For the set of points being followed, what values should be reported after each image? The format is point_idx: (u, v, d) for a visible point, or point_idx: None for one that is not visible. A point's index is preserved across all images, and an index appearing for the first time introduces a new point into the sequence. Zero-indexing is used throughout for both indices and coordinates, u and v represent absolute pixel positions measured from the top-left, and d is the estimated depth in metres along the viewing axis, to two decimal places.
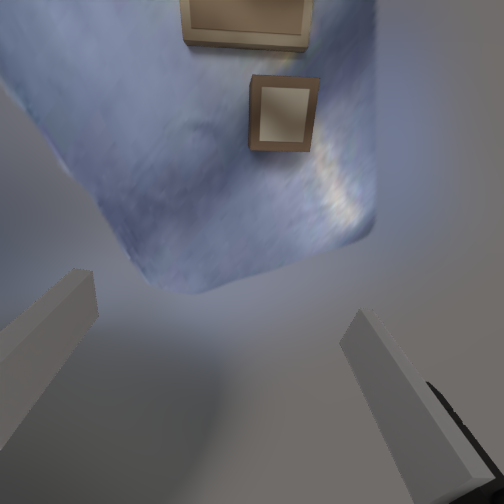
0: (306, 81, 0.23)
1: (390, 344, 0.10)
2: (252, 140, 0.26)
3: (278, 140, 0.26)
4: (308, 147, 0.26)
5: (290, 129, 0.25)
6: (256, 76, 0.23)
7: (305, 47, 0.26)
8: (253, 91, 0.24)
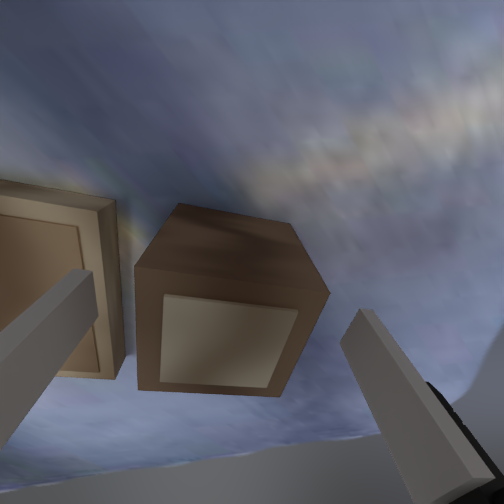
0: (145, 300, 0.08)
1: (390, 344, 0.10)
2: (262, 394, 0.12)
3: (276, 356, 0.10)
4: (316, 296, 0.09)
5: (256, 334, 0.09)
6: (140, 385, 0.10)
7: (99, 214, 0.12)
8: (168, 390, 0.11)
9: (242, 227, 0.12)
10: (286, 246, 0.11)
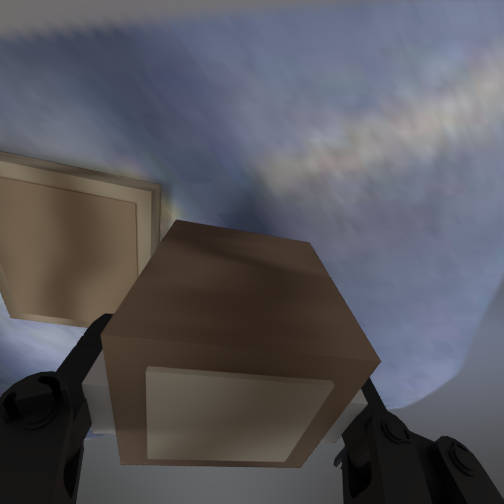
0: (121, 373, 0.06)
1: None
2: (278, 465, 0.09)
3: (299, 429, 0.08)
4: (361, 365, 0.06)
5: (274, 407, 0.07)
6: (124, 460, 0.08)
7: (152, 194, 0.15)
8: (160, 463, 0.08)
9: (253, 252, 0.10)
10: (310, 279, 0.09)
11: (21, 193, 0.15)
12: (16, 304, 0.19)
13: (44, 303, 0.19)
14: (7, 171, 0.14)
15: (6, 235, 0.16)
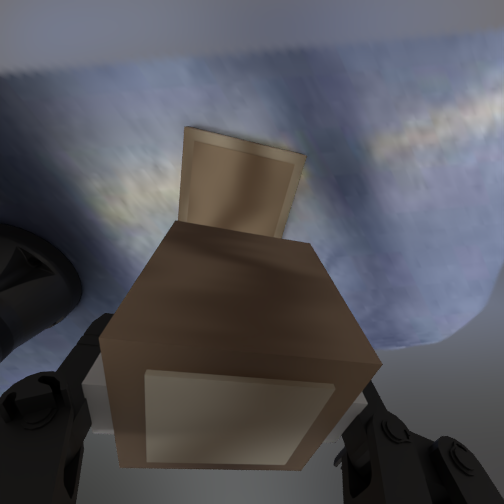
0: (119, 377, 0.06)
1: None
2: (278, 468, 0.09)
3: (300, 431, 0.08)
4: (362, 368, 0.06)
5: (274, 411, 0.07)
6: (123, 463, 0.08)
7: (305, 158, 0.23)
8: (159, 467, 0.08)
9: (253, 254, 0.10)
10: (311, 281, 0.09)
11: (221, 157, 0.22)
12: None
13: None
14: (219, 141, 0.22)
15: (200, 188, 0.23)
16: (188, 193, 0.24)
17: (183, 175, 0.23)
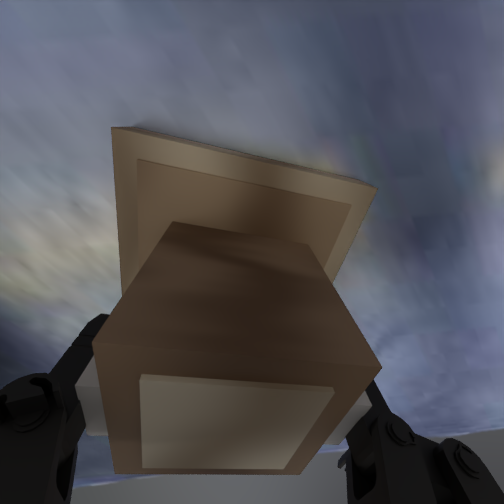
0: (113, 381, 0.06)
1: None
2: (276, 472, 0.09)
3: (298, 436, 0.08)
4: (362, 371, 0.06)
5: (272, 415, 0.07)
6: (118, 469, 0.08)
7: None
8: (155, 472, 0.08)
9: (251, 255, 0.10)
10: (309, 282, 0.09)
11: (200, 193, 0.11)
12: None
13: None
14: (193, 160, 0.10)
15: None
16: (137, 258, 0.12)
17: (122, 227, 0.11)
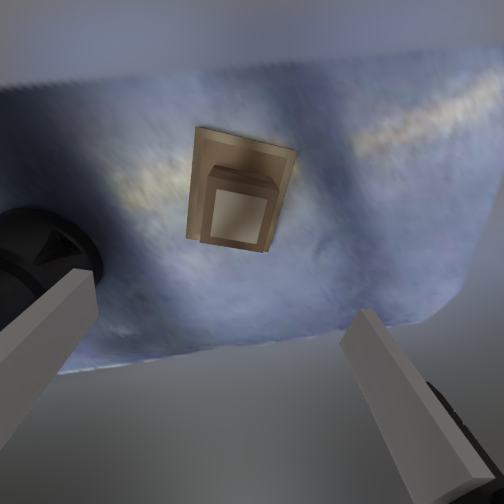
0: (209, 191, 0.22)
1: (390, 344, 0.10)
2: (254, 249, 0.25)
3: (260, 224, 0.24)
4: (274, 192, 0.22)
5: (251, 211, 0.23)
6: (201, 239, 0.24)
7: None
8: (213, 243, 0.24)
9: (245, 174, 0.26)
10: (266, 181, 0.25)
11: (226, 152, 0.27)
12: (193, 227, 0.31)
13: None
14: (224, 139, 0.26)
15: None
16: (197, 182, 0.28)
17: (193, 167, 0.27)
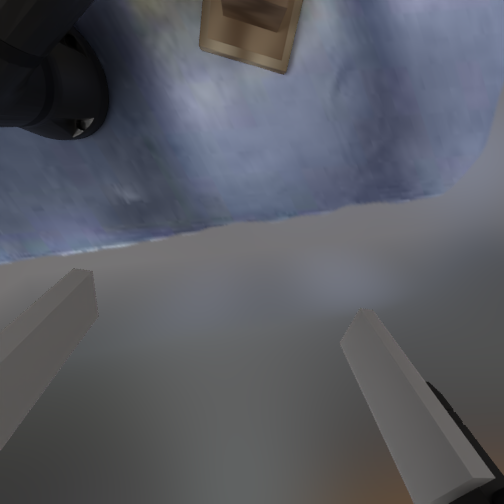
0: None
1: (390, 344, 0.10)
2: (278, 2, 0.23)
3: None
4: None
5: None
6: None
7: None
8: None
9: None
10: None
11: None
12: (207, 29, 0.29)
13: (227, 27, 0.29)
14: None
15: None
16: None
17: None
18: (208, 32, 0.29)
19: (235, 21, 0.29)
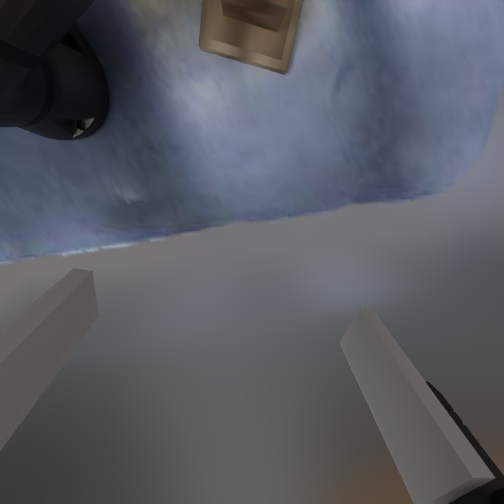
0: None
1: (390, 344, 0.10)
2: (278, 2, 0.23)
3: None
4: None
5: None
6: None
7: None
8: None
9: None
10: None
11: None
12: (207, 29, 0.29)
13: (227, 27, 0.29)
14: None
15: None
16: None
17: None
18: (208, 32, 0.29)
19: (235, 21, 0.29)
